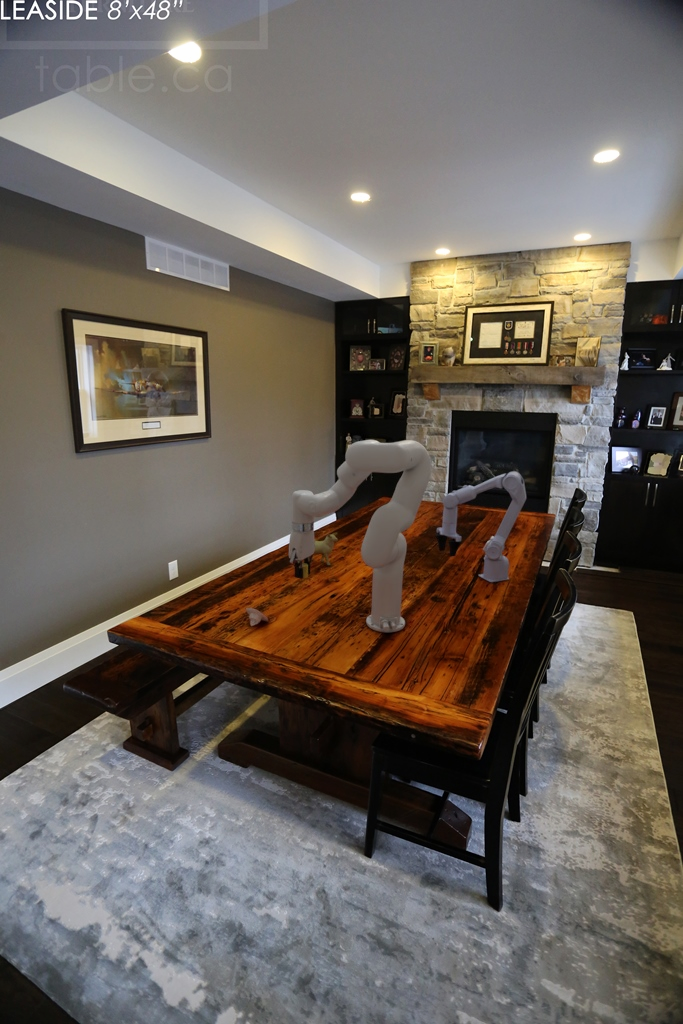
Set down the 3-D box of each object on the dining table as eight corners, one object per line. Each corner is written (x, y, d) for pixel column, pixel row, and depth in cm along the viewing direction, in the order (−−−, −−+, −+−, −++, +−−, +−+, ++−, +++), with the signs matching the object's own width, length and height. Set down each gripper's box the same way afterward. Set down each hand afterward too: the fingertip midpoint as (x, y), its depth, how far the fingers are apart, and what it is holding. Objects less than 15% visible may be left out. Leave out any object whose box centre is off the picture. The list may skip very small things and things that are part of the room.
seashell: (251, 634, 162) (235, 615, 161) (262, 623, 165) (246, 604, 164) (262, 630, 156) (245, 610, 155) (273, 618, 159) (257, 599, 158)
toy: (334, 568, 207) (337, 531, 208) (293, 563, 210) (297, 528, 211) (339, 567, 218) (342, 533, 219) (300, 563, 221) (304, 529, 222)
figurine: (481, 562, 222) (483, 536, 219) (482, 556, 230) (484, 531, 227) (499, 564, 220) (501, 538, 217) (499, 558, 228) (501, 533, 225)
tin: (302, 579, 175) (303, 567, 173) (294, 576, 177) (295, 564, 176) (310, 576, 177) (310, 564, 176) (302, 573, 180) (302, 562, 179)
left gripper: (307, 519, 181) (307, 566, 186) (279, 530, 167) (279, 581, 172) (324, 522, 178) (324, 571, 182) (297, 533, 164) (297, 585, 168)
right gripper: (431, 518, 211) (429, 549, 215) (452, 527, 199) (449, 559, 202) (445, 517, 214) (443, 547, 217) (466, 525, 201) (463, 557, 205)
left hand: (302, 575), depth 177 cm, fingers closed on tin, 3 cm apart
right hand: (447, 553), depth 210 cm, fingers open, 7 cm apart
